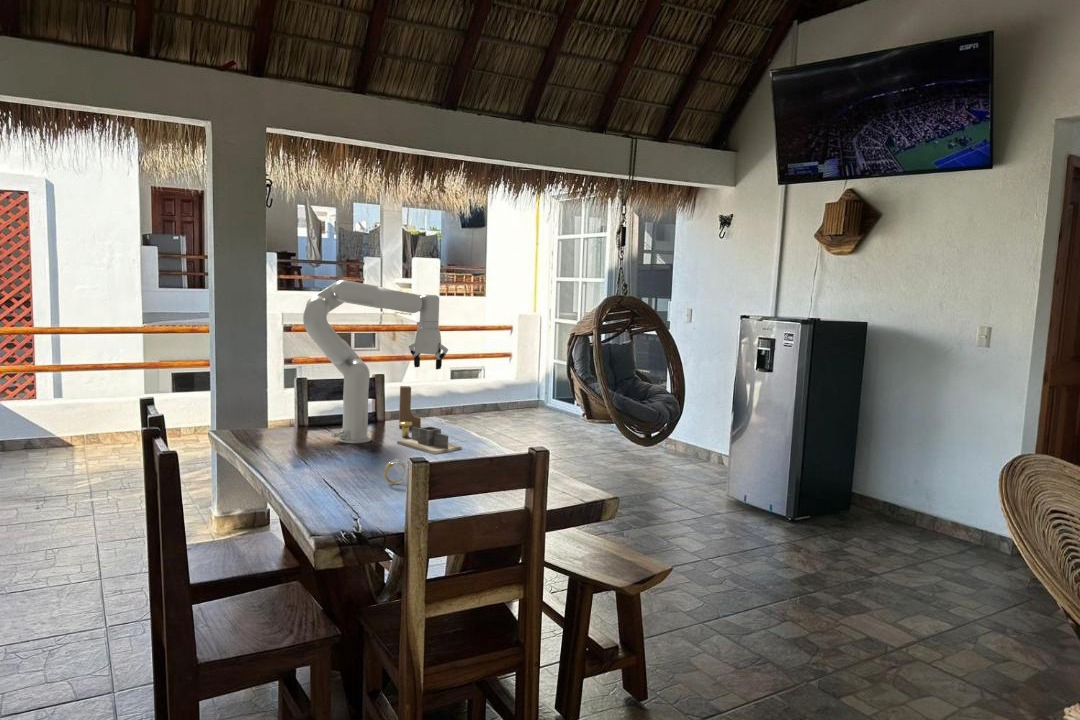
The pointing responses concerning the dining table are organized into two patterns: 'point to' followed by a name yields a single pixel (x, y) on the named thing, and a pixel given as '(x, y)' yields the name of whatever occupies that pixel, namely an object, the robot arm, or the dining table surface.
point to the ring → (391, 466)
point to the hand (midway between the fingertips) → (427, 368)
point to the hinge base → (429, 441)
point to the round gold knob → (405, 428)
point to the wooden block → (407, 408)
